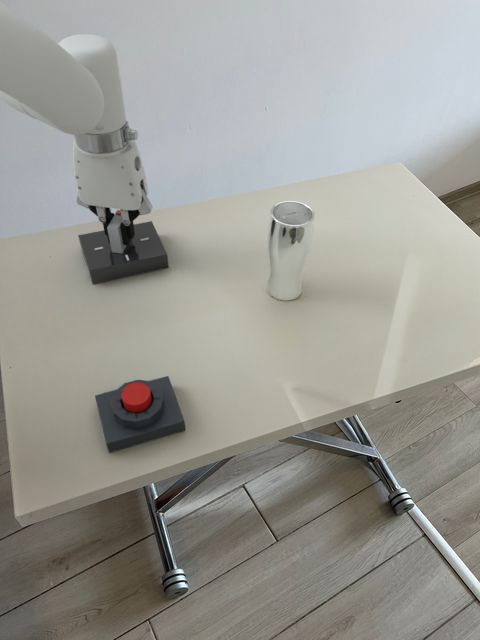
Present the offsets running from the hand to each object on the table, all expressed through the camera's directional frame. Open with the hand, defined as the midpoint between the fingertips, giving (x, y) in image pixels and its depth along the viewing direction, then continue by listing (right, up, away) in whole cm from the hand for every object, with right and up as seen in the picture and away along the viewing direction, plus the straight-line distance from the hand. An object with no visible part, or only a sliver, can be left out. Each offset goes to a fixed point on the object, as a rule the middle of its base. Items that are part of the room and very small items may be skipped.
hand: (121, 238), depth 90 cm
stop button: (+8, -25, -21) cm, 34 cm away
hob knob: (0, -1, +1) cm, 1 cm away
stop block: (+8, -28, -19) cm, 34 cm away
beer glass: (+28, -9, 0) cm, 29 cm away
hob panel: (0, -3, +3) cm, 4 cm away
